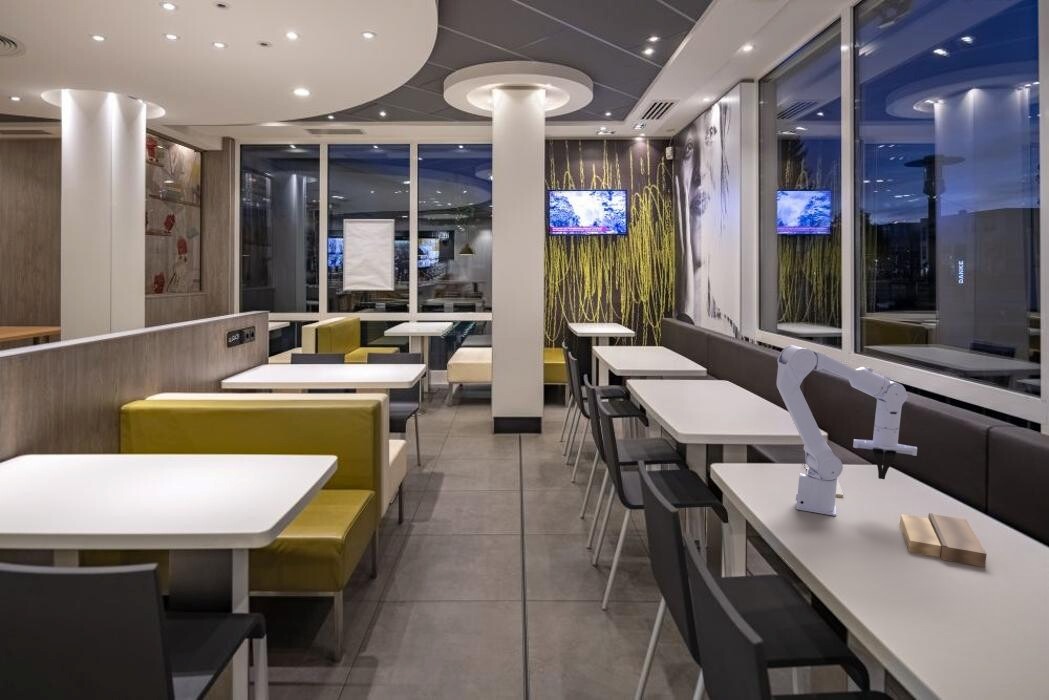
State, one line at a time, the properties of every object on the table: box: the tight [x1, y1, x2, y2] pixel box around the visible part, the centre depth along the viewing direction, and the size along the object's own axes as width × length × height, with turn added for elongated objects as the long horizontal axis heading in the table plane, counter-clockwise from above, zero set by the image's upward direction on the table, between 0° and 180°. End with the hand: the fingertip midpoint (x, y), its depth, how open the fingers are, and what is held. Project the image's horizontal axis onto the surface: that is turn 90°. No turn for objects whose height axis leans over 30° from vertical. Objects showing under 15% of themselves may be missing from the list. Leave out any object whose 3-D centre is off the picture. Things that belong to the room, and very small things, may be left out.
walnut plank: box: [927, 512, 987, 568], centre depth 157 cm, size 8×24×3 cm, turn 156°
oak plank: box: [899, 513, 941, 558], centre depth 159 cm, size 6×20×3 cm, turn 156°
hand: (881, 478), depth 176 cm, fingers closed
